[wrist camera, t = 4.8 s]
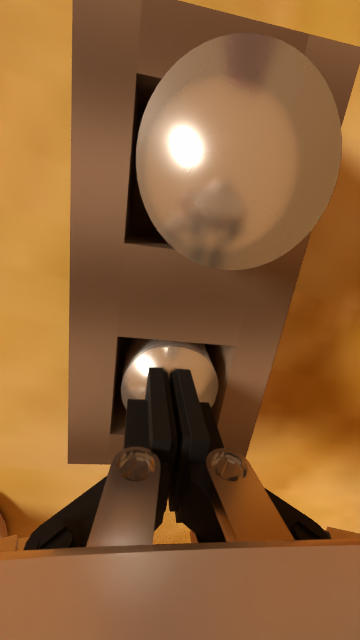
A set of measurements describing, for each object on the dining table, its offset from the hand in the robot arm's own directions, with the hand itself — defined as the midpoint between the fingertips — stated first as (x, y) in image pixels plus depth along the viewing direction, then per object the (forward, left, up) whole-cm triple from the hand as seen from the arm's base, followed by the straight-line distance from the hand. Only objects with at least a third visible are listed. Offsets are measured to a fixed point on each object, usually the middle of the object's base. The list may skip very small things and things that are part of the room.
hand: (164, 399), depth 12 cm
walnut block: (+4, +2, -6) cm, 7 cm away
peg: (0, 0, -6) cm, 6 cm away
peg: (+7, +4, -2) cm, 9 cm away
